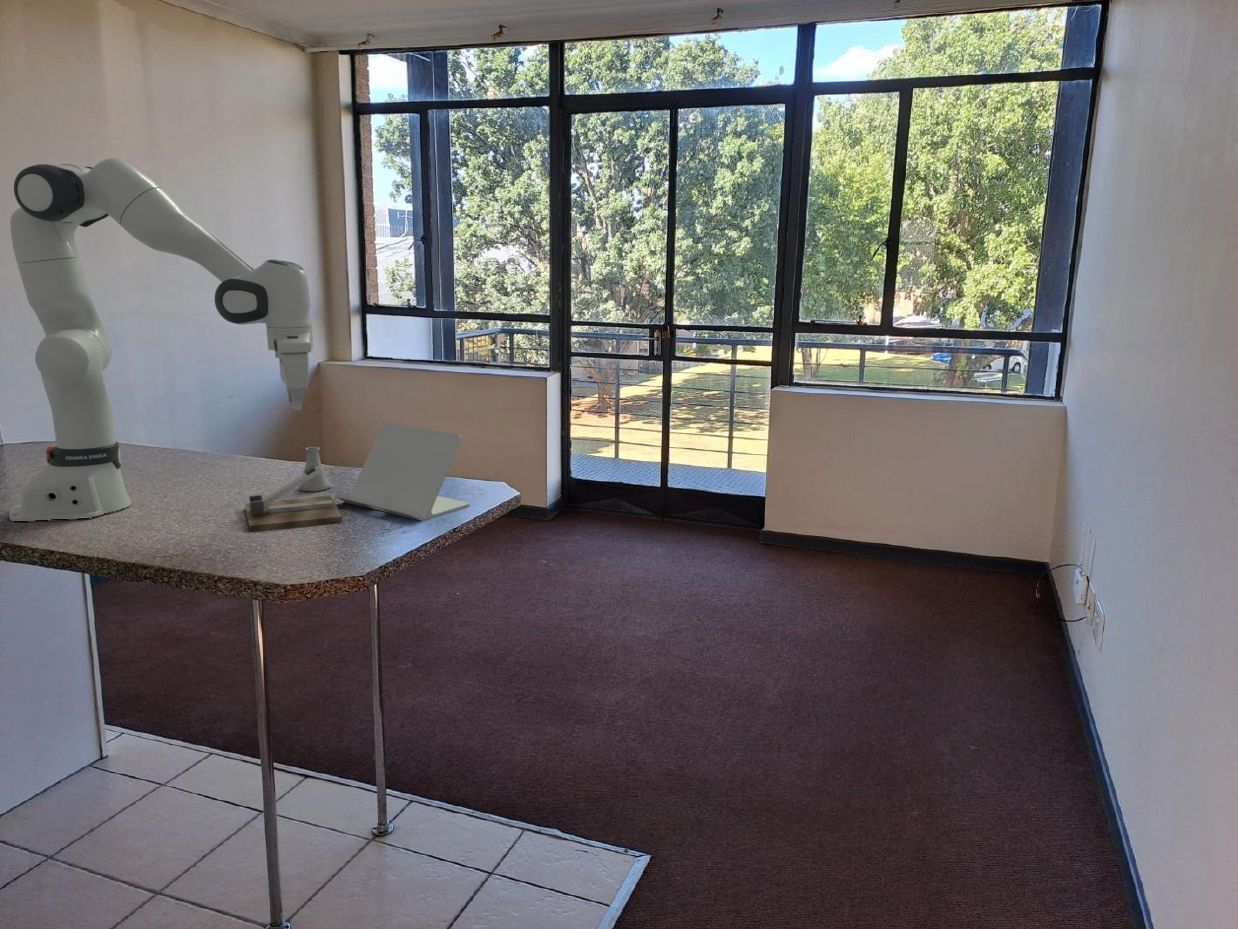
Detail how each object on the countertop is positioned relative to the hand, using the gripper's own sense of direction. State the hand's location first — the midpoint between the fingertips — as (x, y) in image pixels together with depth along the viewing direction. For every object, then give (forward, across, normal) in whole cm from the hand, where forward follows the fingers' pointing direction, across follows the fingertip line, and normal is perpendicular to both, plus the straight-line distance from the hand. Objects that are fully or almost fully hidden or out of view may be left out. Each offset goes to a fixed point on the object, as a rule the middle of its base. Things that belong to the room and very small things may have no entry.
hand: (295, 406), depth 184 cm
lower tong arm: (+22, 0, -2) cm, 22 cm away
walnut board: (+24, 0, -2) cm, 24 cm away
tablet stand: (+24, +1, +21) cm, 32 cm away
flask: (+24, -22, +5) cm, 33 cm away
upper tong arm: (+18, 0, -3) cm, 19 cm away
